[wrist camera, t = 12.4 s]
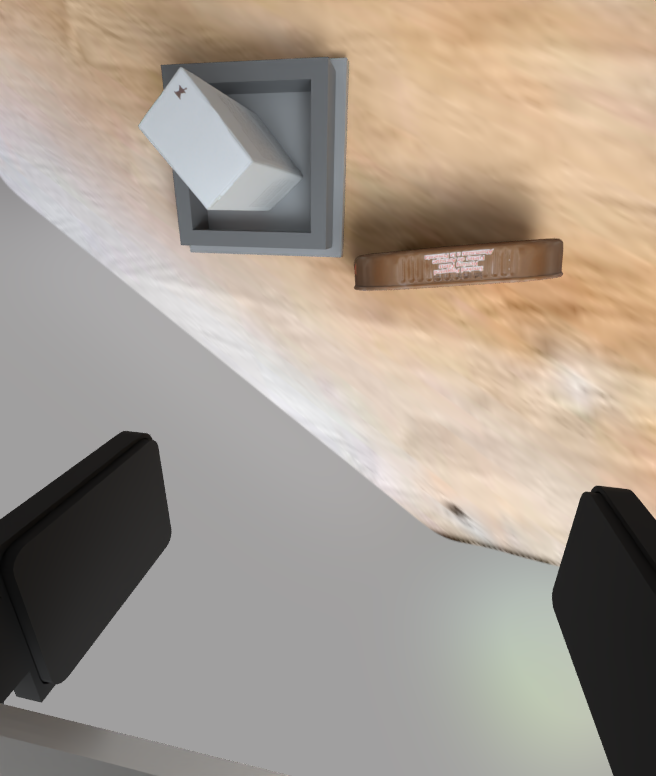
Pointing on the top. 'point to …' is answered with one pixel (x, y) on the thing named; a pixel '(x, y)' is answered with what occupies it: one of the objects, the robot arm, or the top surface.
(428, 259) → the tin
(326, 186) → the grey square tray
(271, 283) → the top surface
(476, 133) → the top surface
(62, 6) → the top surface
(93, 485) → the robot arm
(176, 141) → the skincare box
